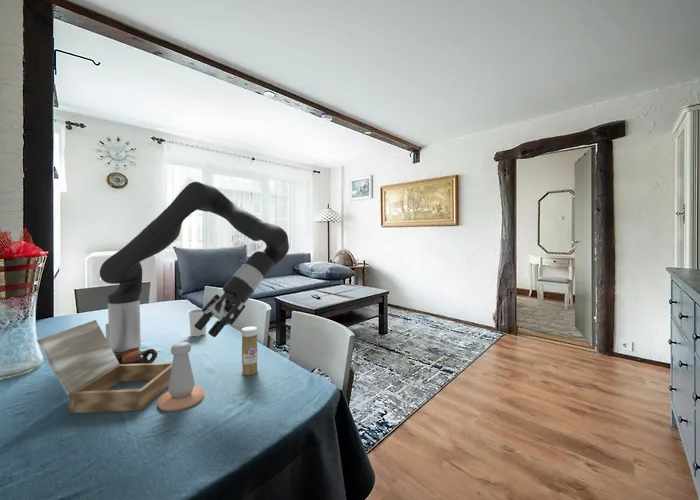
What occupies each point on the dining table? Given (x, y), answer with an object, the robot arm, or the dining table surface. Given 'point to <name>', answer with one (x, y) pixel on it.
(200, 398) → the terracotta saucer
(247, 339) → the sprinkles bottle
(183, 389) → the salt shaker
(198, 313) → the drinking glass
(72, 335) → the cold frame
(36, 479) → the dining table surface
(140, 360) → the pottery mug
